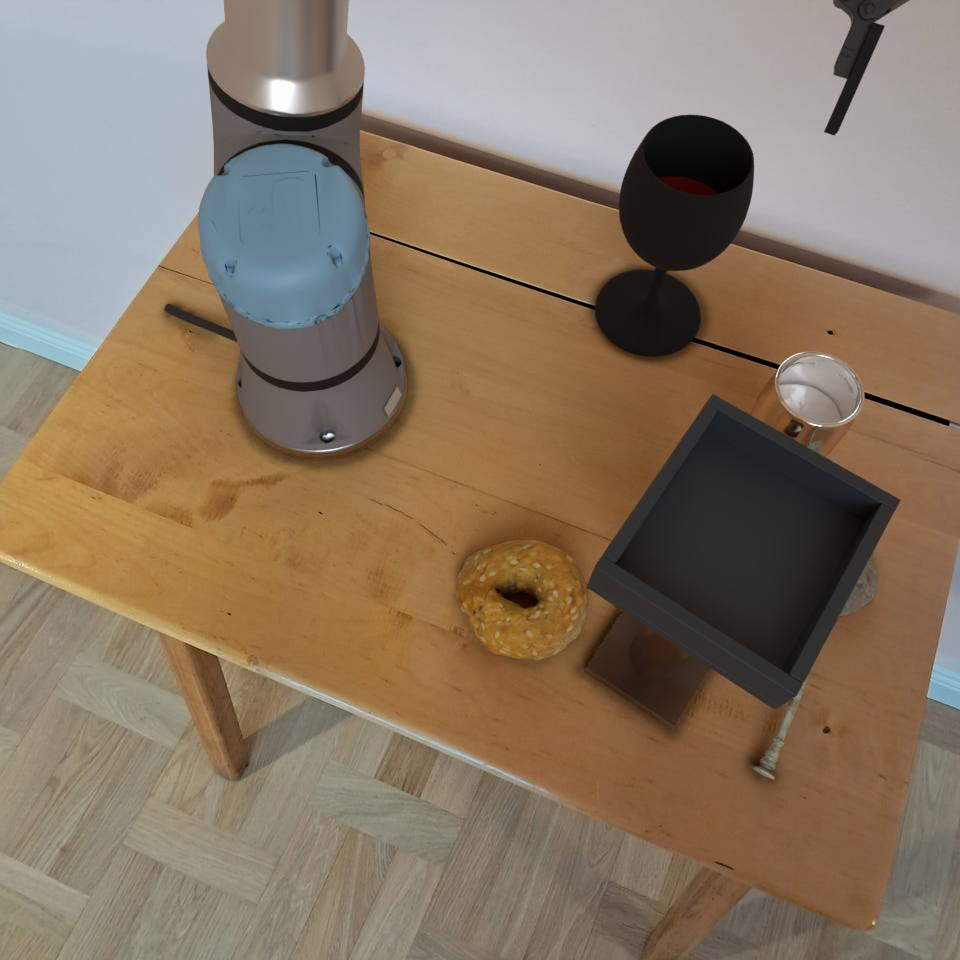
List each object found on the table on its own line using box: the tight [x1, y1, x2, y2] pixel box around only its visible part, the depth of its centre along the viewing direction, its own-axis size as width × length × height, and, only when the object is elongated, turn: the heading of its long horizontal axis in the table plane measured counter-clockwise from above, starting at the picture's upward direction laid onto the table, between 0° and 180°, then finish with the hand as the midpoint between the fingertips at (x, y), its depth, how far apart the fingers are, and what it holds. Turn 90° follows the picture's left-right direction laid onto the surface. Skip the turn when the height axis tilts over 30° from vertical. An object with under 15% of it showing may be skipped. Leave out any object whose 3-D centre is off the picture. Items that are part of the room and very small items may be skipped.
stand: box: [583, 610, 711, 731], centre depth 59 cm, size 8×8×23 cm
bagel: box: [454, 539, 590, 661], centre depth 69 cm, size 10×11×5 cm
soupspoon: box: [751, 558, 879, 781], centre depth 69 cm, size 22×3×7 cm
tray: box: [586, 393, 901, 710], centre depth 48 cm, size 12×13×3 cm
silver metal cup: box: [750, 350, 865, 458], centre depth 70 cm, size 7×7×15 cm
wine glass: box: [594, 114, 755, 358], centre depth 76 cm, size 10×10×20 cm
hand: (931, 165), depth 57 cm, fingers open, 13 cm apart
